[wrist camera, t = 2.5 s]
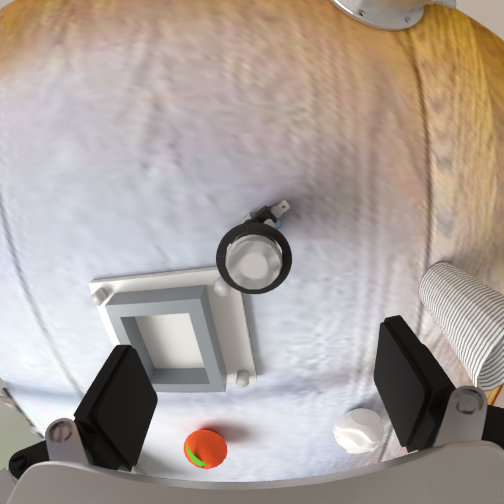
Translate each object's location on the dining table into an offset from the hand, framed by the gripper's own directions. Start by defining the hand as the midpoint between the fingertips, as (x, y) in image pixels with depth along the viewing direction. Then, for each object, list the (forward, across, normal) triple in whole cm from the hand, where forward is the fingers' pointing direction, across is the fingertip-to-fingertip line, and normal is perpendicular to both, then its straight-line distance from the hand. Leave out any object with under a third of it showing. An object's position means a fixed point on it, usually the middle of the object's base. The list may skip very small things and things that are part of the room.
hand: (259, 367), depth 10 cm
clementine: (+21, +13, +32) cm, 41 cm away
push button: (+20, 0, 0) cm, 20 cm away
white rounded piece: (+21, -11, +31) cm, 39 cm away
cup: (+20, -21, +10) cm, 31 cm away
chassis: (+20, +12, +12) cm, 26 cm away
